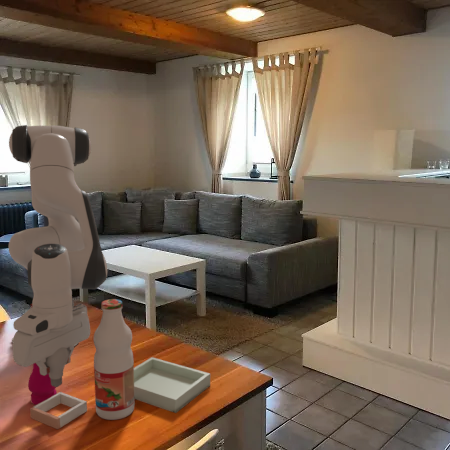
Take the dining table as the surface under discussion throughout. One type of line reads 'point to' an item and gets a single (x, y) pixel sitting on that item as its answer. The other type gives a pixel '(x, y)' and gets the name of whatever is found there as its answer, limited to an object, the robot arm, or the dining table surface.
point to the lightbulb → (57, 365)
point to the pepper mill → (40, 386)
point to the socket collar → (57, 422)
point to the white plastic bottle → (113, 364)
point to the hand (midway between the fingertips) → (55, 368)
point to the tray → (168, 384)
